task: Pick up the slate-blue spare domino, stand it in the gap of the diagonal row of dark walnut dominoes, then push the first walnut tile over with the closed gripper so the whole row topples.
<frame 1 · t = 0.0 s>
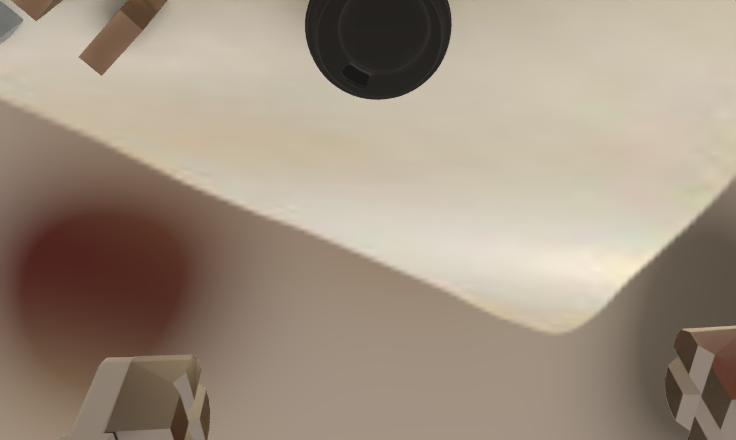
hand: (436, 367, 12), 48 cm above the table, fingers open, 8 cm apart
domino 6: (139, 11, 56), on the table
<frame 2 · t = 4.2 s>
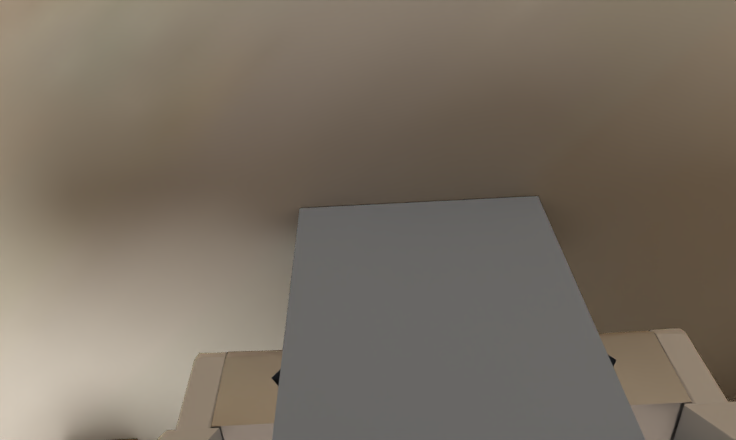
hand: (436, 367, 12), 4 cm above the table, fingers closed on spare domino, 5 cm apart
spare domino: (418, 241, 15), on the table, touching gripper
when the fingers open (4 cm above the table, at t = 9.3 s): spare domino stays where it is, on the table.
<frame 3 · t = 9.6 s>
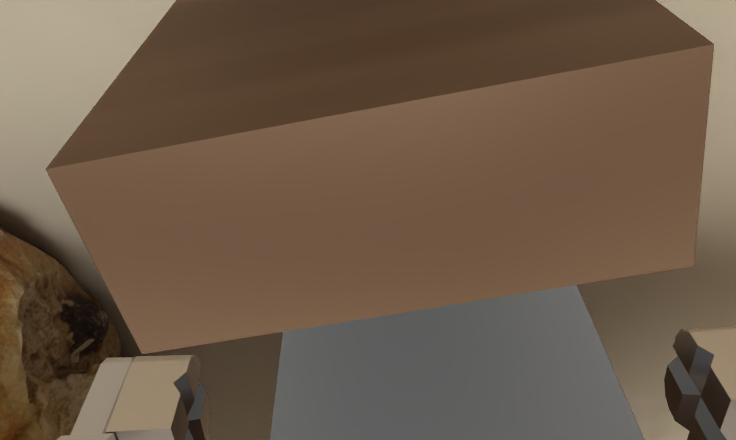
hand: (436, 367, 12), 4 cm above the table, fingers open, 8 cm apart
spare domino: (415, 224, 15), on the table
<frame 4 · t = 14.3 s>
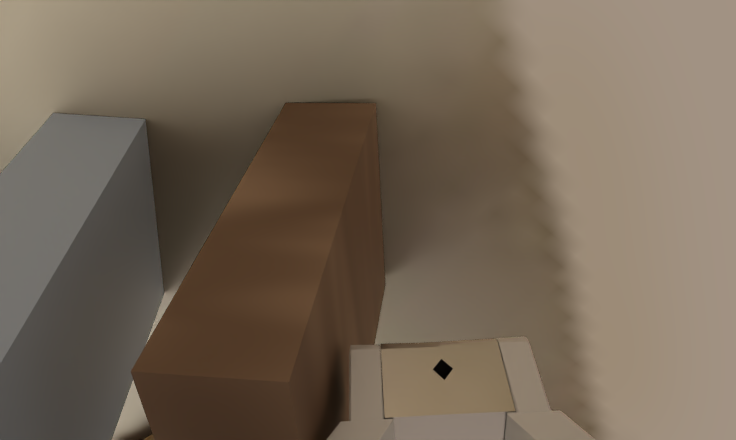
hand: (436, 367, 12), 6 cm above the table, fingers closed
spare domino: (113, 210, 16), on the table
domino 1: (339, 200, 16), on the table, tilted 9°
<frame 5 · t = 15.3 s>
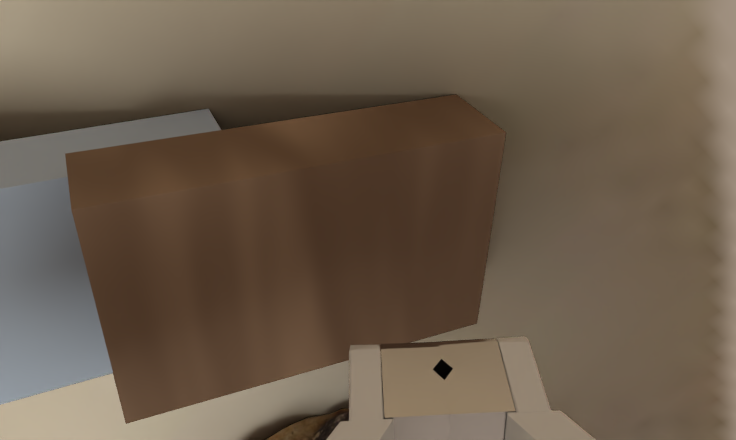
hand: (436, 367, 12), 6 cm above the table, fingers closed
spare domino: (230, 225, 16), point 1 cm above the table, tilted 67°, touching domino 1
domino 1: (467, 213, 15), point 1 cm above the table, tilted 68°, touching spare domino
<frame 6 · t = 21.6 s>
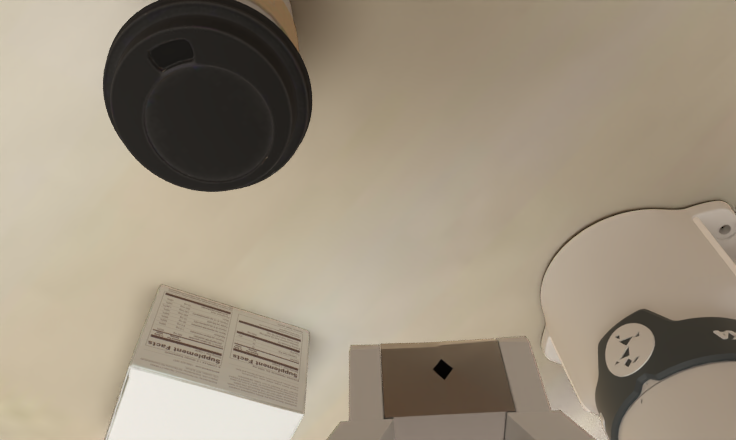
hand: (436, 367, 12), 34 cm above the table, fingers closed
coffee cup: (246, 13, 42), on the table
supplement box: (209, 371, 60), on the table
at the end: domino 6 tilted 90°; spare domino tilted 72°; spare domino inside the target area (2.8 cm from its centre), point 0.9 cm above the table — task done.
